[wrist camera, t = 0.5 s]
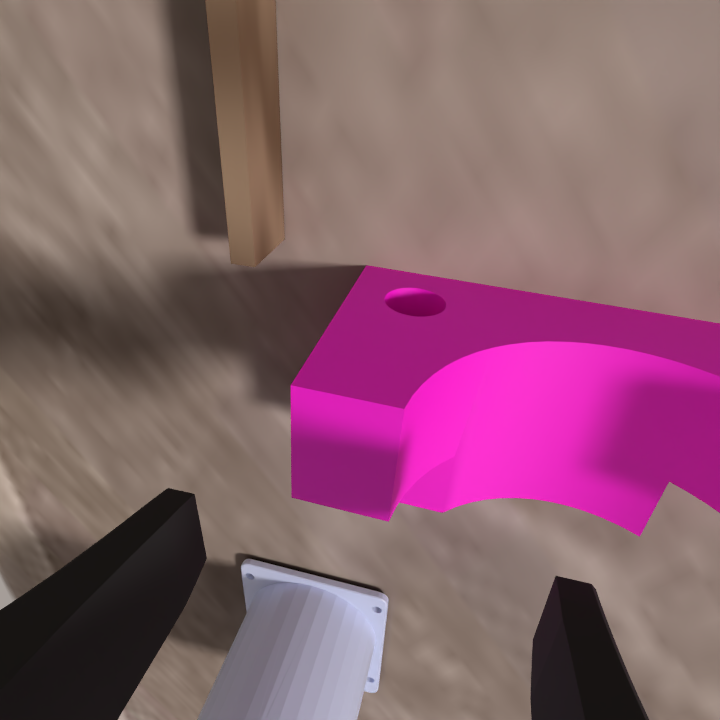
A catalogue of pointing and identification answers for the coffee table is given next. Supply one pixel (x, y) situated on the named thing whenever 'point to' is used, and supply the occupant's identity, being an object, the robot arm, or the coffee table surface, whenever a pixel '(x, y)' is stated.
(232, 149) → the tray
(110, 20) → the coffee table surface
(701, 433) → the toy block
